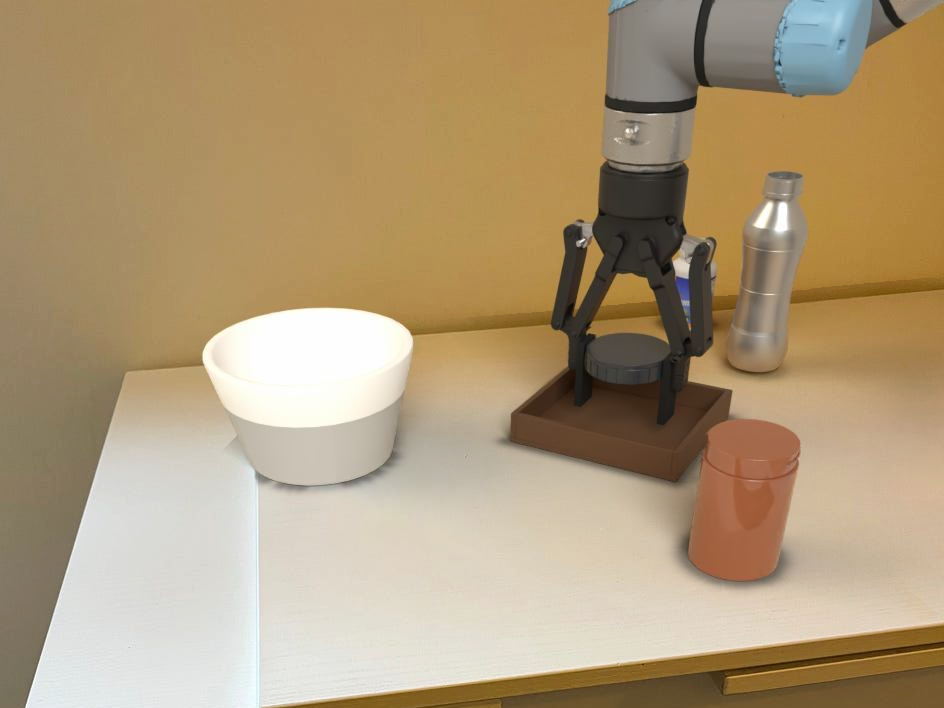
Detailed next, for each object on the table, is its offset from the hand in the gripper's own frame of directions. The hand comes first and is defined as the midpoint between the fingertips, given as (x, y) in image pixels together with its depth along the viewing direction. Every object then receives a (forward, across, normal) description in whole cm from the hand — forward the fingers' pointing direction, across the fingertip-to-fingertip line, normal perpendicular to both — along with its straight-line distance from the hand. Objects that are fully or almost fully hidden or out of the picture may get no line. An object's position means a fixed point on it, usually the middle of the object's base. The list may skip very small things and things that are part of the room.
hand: (623, 409), depth 98 cm
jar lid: (-6, 0, 0) cm, 6 cm away
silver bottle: (+2, +7, +21) cm, 22 cm away
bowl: (+2, -24, -18) cm, 30 cm away
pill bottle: (+2, -4, +30) cm, 30 cm away
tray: (+2, 0, 0) cm, 2 cm away
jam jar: (+2, +17, -17) cm, 24 cm away
